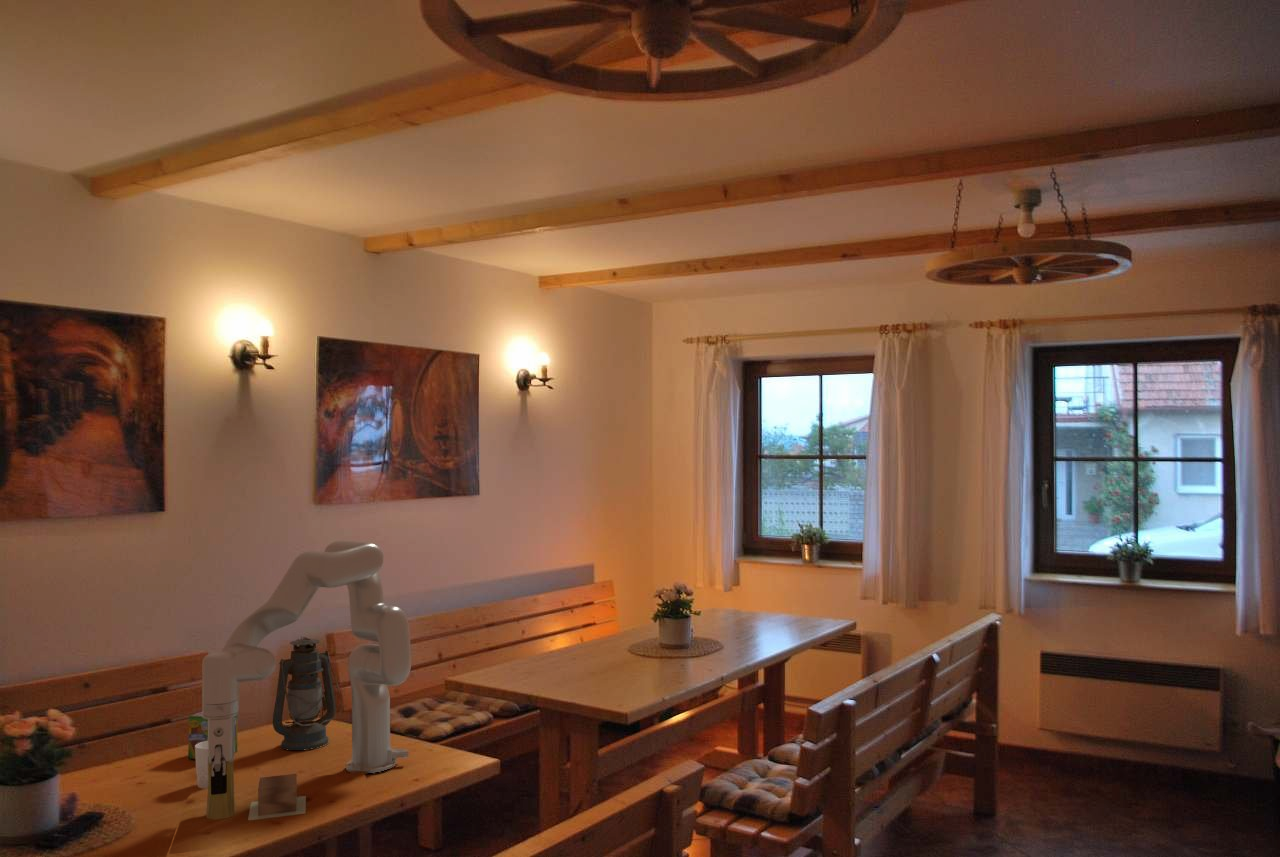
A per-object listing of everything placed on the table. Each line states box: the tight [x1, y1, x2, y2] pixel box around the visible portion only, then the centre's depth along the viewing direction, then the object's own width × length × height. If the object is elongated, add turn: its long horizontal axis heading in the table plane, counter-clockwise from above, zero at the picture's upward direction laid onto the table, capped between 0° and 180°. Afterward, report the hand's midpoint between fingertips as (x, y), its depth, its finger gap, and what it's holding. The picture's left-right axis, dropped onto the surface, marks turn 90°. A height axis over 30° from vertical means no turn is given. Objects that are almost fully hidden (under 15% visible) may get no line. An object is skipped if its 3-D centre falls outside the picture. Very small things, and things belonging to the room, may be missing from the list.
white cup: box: [194, 741, 209, 790], centre depth 243 cm, size 8×8×10 cm
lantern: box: [272, 636, 343, 751], centre depth 276 cm, size 19×14×30 cm
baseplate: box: [247, 795, 307, 821], centre depth 224 cm, size 12×12×1 cm
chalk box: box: [187, 711, 239, 760], centre depth 267 cm, size 9×9×15 cm
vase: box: [205, 756, 236, 820], centre depth 220 cm, size 6×6×14 cm
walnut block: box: [257, 773, 298, 816], centre depth 224 cm, size 8×8×6 cm
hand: (220, 787), depth 220 cm, fingers open, 8 cm apart
